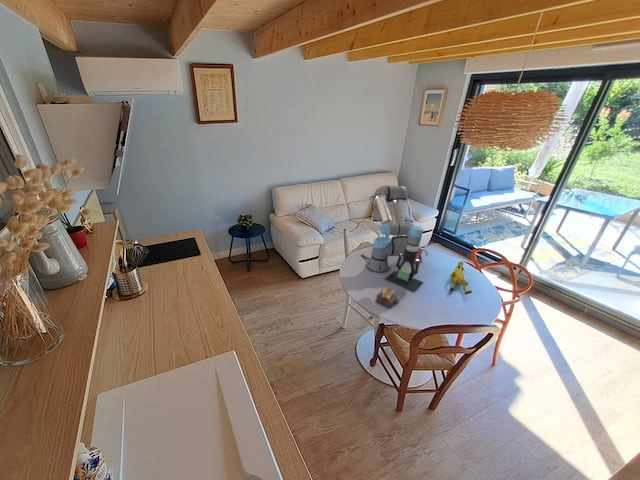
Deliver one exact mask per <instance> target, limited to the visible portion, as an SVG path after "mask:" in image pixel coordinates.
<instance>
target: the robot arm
mask: <svg viewBox="0 0 640 480" xmlns="http://www.w3.org/2000/svg"><path fill="white" fill-rule="evenodd" d="M408 197H409V193H408V189H407V187H406V186H404V185H382V186H379V187H377V188H376V190H375V191H374V193H373V196H372V200H373V203H374V205H375V206H376V209H377V211H378V216H379V219H380V221H381V224H380V227H379V232H380V234H381V235H383V236H378V237H376V238H375V239H374V240H373V243H372V249H371V255H370V257H367V256H366V255H364V254H361V256H362V257H363V258H364V259H367V260H368V261H367V263H366V267H367V269H368V270H370V271H371V272H373V273H374V272H375V273H385V272H387V271H389V261H388V259H389V257H398V258H397V260H396V263H395V268H397V271H396V272H399V269H401V268H402V267H403V266H404V265H405V263H409V266H410V268H411V272H412V273H410V277H409V280H408V282H410V281H411V278H413V279H414V276H415V275H417V274H418V273H419V267H420V263H421V262H420V260H417V259H416V256H417V252H418V248H420V244H421V240H422V238H423V232H424V229H423V227H421V226H418V225H415V224H414V223H413V222H411V221H410V222H407V221H405V220H406V219H405V212H404V211H405V209H404V205H405V204H406V201H407V200H408ZM387 236H392V237H387ZM402 257H404V259H403V258H402ZM402 259H403V260H402ZM401 261H402V262H401ZM414 261H416V264H414Z"/></svg>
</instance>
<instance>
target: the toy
mask: <svg viewBox="0 0 640 480" xmlns="http://www.w3.org/2000/svg"><path fill="white" fill-rule="evenodd" d="M411 221H412V220H411V219H409V220H406V222H411ZM423 252H425V253H424V254H425V258H427V257H428V255H429V253H428V251H427V249H425V248H424V249H423V248H421V247H419V248H418V252H417V256H416V259H417V260H420V263H421V262H422V261H423V256H422V254H423ZM401 259H403V260H404V257H402V258H401ZM414 265H416V261H414Z"/></svg>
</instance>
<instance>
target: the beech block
mask: <svg viewBox="0 0 640 480" xmlns="http://www.w3.org/2000/svg"><path fill="white" fill-rule="evenodd" d="M382 292H383V293H382ZM382 292H381V293H382V297H384V298H386V299H388V300H390V299H391V298H392V297H393V295H395V294H394V293H395V290H394V289H393V288H390V287H389V286H388V287H385V288H384V289H383V290H382Z"/></svg>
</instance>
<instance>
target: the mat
mask: <svg viewBox="0 0 640 480" xmlns="http://www.w3.org/2000/svg"><path fill="white" fill-rule="evenodd" d="M397 276H398V272H397V271H395V270H394V271H393V272H392V273H391V274H389V275H388V276H387V277H385V278H384V279H385V280H386V281H387V282H390V283H393V284H395V285H397V286H400V287H402V288H404V289H407V290H409V291H411V292H415V291H416V290H417V289H418V288H419V287H420V286H421V285H422V284H423V282H422V281H421V280H418V279H416V278H414V277H413V278H411V281H410V282H408V281H406V280H403V279H401V278H399V277H397Z"/></svg>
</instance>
